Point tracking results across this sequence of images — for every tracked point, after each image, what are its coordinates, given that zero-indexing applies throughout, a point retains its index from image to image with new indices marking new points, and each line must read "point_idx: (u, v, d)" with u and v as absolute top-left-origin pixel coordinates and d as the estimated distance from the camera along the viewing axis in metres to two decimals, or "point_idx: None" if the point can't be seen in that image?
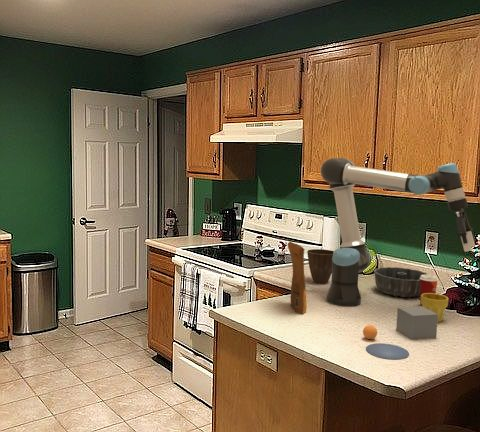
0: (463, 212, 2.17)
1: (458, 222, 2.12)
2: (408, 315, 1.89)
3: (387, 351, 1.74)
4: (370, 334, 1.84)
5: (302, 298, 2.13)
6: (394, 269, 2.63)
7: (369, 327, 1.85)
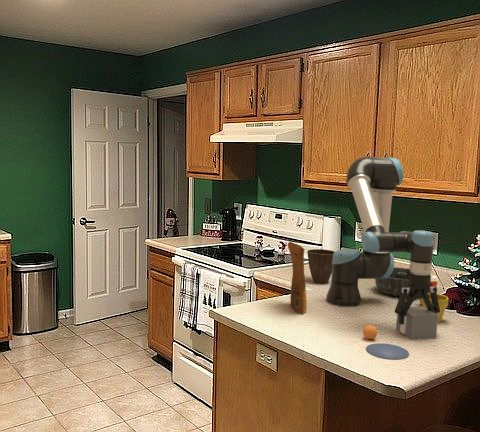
0: (417, 290, 1.90)
1: (399, 300, 1.90)
2: (408, 315, 1.89)
3: (387, 351, 1.74)
4: (370, 334, 1.84)
5: (302, 298, 2.13)
6: (394, 269, 2.63)
7: (369, 327, 1.85)
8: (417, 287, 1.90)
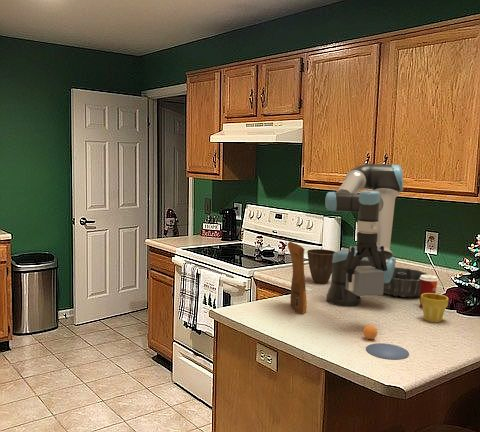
0: (365, 248, 1.94)
1: (347, 258, 1.94)
2: (356, 273, 1.93)
3: (387, 351, 1.74)
4: (370, 334, 1.84)
5: (302, 298, 2.13)
6: (394, 269, 2.63)
7: (369, 327, 1.85)
8: (364, 245, 1.94)
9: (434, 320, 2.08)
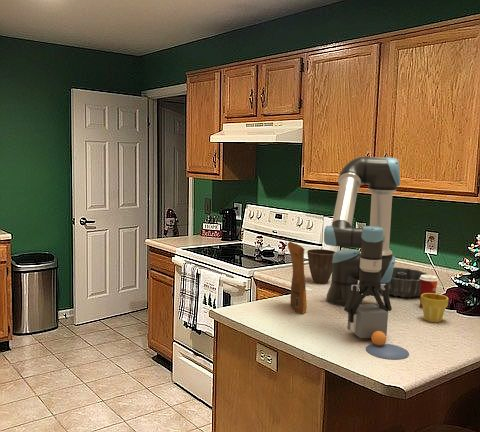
0: (367, 287, 1.85)
1: (349, 297, 1.85)
2: (357, 313, 1.84)
3: (387, 351, 1.74)
4: None
5: (302, 298, 2.13)
6: (394, 269, 2.63)
7: (377, 345, 1.79)
8: (367, 284, 1.85)
9: (434, 320, 2.08)
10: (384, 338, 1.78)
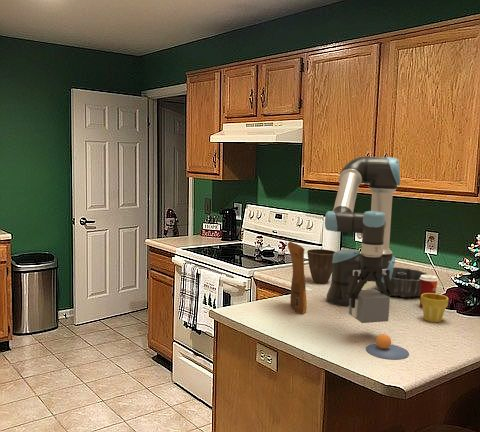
0: (369, 272, 1.84)
1: (350, 283, 1.85)
2: (359, 298, 1.83)
3: (387, 351, 1.74)
4: None
5: (302, 298, 2.13)
6: (394, 269, 2.63)
7: None
8: (368, 269, 1.84)
9: (434, 320, 2.08)
10: None
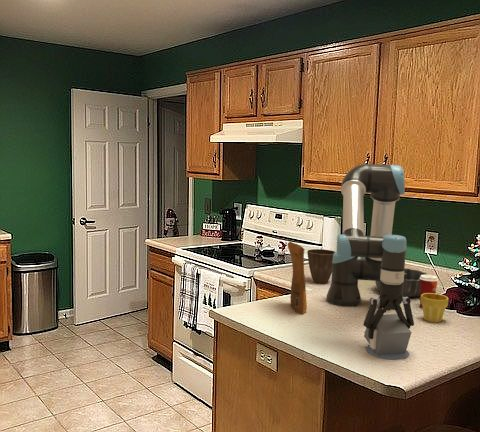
0: (388, 300, 1.71)
1: (368, 312, 1.72)
2: (378, 330, 1.70)
3: None
4: None
5: (302, 298, 2.13)
6: None
7: None
8: (388, 298, 1.71)
9: (434, 320, 2.08)
10: None
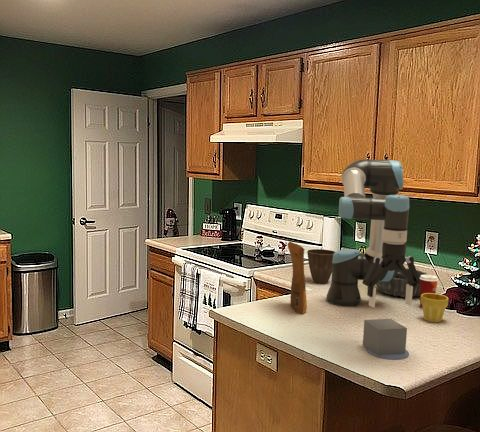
0: (391, 260, 1.70)
1: (369, 270, 1.70)
2: (374, 329, 1.73)
3: None
4: None
5: (302, 298, 2.13)
6: None
7: None
8: (391, 259, 1.70)
9: (434, 320, 2.08)
10: None
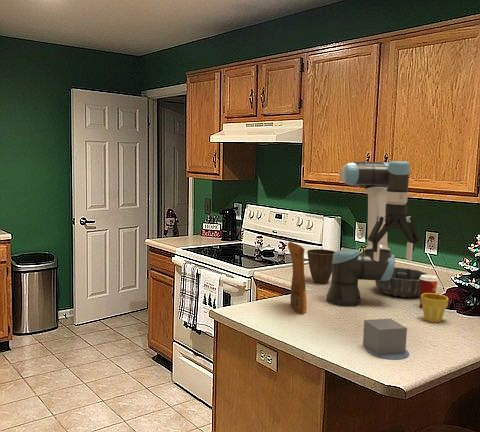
0: (394, 219, 1.90)
1: (374, 228, 1.91)
2: (374, 329, 1.73)
3: None
4: None
5: (302, 298, 2.13)
6: (394, 269, 2.63)
7: None
8: (393, 218, 1.91)
9: (434, 320, 2.08)
10: None
